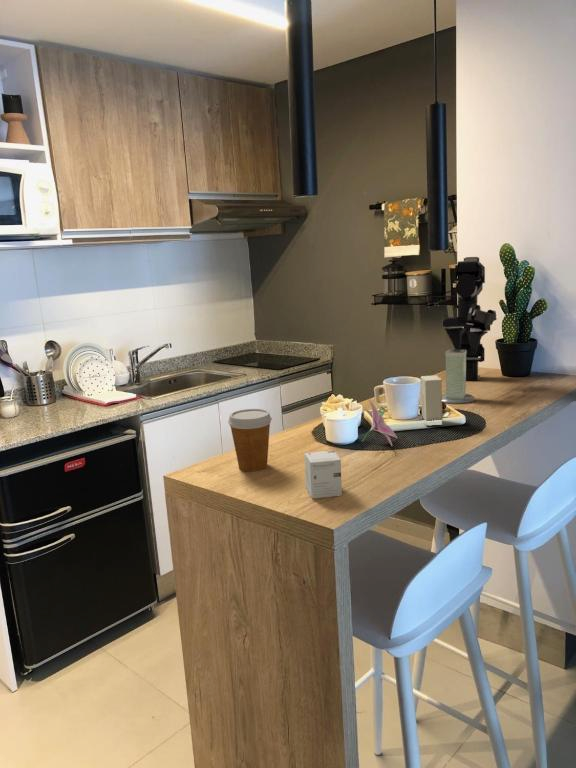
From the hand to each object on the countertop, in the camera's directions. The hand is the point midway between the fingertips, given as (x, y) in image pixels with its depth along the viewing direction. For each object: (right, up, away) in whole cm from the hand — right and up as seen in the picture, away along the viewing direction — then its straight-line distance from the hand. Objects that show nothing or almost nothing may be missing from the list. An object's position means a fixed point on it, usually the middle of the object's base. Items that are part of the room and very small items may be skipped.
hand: (466, 352), depth 190 cm
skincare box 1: (-48, -31, -69) cm, 90 cm away
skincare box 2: (-17, -20, -28) cm, 39 cm away
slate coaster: (-5, -14, -6) cm, 16 cm away
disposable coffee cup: (-62, -28, -53) cm, 87 cm away
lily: (-33, -24, -42) cm, 58 cm away
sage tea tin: (-5, -14, -7) cm, 16 cm away
